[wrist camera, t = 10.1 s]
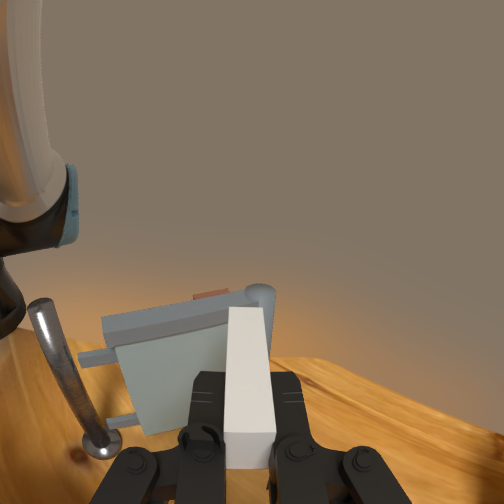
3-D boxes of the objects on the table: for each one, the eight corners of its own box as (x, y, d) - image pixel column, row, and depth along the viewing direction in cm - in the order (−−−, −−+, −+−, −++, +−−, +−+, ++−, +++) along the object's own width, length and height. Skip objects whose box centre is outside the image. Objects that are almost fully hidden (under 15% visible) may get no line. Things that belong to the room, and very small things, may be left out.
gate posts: (87, 462, 19) (9, 326, 13) (80, 411, 25) (26, 278, 18) (257, 420, 27) (269, 280, 21) (230, 378, 32) (230, 246, 26)
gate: (118, 448, 21) (67, 338, 16) (113, 429, 23) (68, 318, 18) (269, 406, 28) (283, 294, 23) (258, 391, 30) (267, 281, 25)
